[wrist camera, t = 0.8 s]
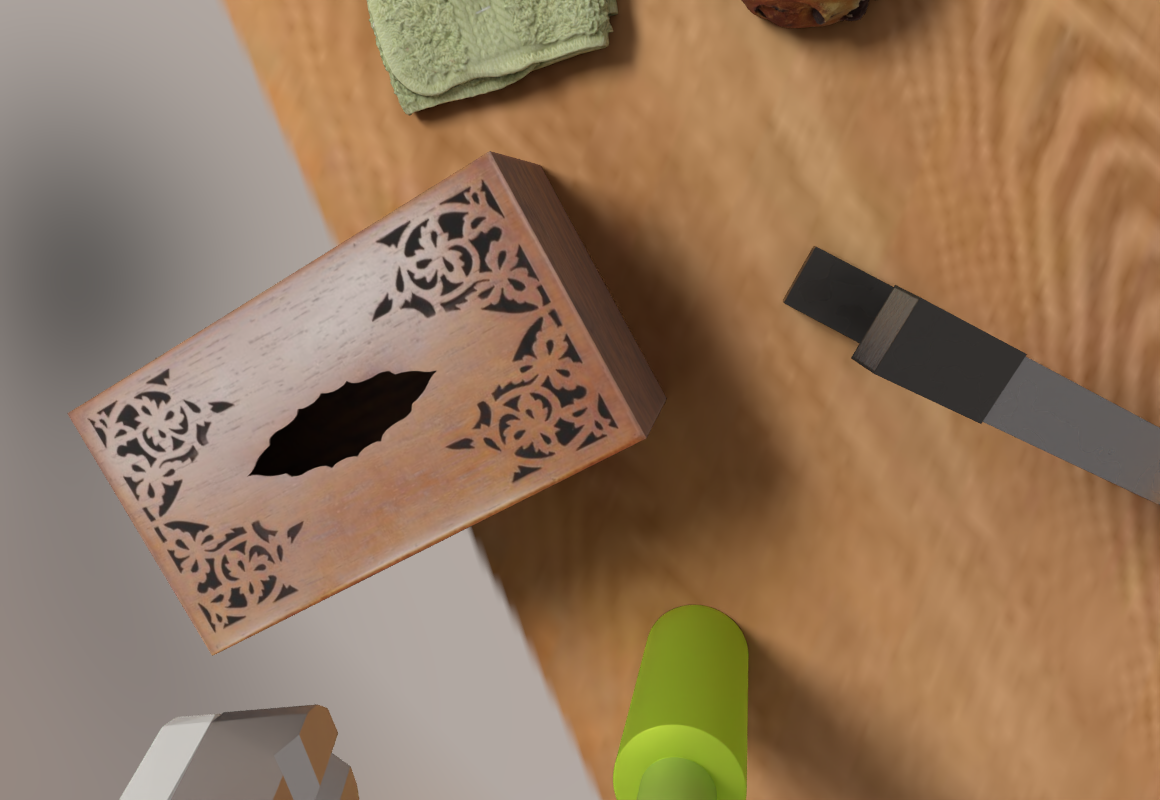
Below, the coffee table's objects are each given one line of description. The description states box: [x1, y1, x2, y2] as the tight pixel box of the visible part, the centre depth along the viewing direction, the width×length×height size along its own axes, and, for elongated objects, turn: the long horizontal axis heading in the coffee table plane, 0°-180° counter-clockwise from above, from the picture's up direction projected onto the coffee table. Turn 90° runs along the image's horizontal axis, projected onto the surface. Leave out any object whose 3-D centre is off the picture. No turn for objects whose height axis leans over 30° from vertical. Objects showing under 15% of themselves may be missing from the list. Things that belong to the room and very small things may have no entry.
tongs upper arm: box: [851, 285, 1160, 505], centre depth 39 cm, size 23×3×2 cm, turn 63°
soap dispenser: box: [613, 605, 749, 800], centre depth 43 cm, size 6×7×20 cm
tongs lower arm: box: [783, 246, 894, 343], centre depth 46 cm, size 28×3×2 cm, turn 63°
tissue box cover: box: [68, 151, 667, 655], centre depth 49 cm, size 26×14×10 cm, turn 119°
